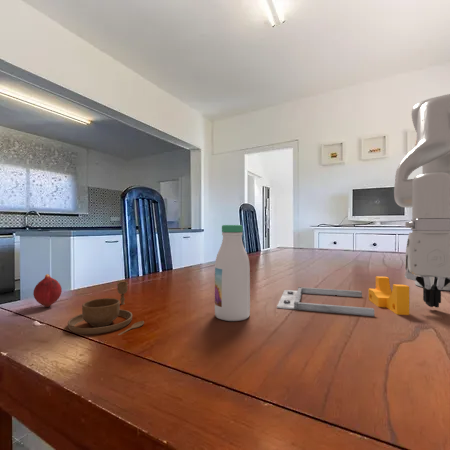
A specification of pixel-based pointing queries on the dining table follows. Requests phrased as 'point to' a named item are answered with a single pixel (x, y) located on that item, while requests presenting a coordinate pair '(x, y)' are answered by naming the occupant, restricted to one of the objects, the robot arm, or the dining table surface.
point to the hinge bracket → (292, 301)
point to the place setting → (104, 314)
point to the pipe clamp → (390, 296)
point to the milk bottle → (232, 276)
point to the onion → (47, 291)
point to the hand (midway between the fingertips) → (431, 305)
